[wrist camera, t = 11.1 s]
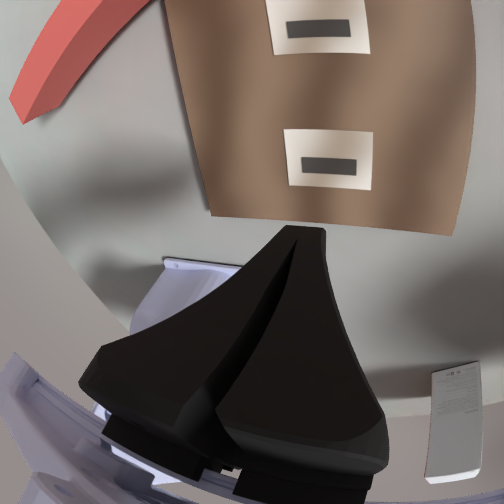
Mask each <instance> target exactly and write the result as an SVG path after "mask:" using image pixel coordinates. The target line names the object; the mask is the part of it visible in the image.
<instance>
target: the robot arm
mask: <svg viewBox="0 0 504 504" xmlns="http://www.w3.org/2000/svg"><path fill="white" fill-rule="evenodd" d="M164 265H165V270H164V271H163V272H162V274H161V275H160V277H159V278H158V279H157V281H156V282H155V283H154V285H153V286H152V288H151V289H150V290H149V292H148V293H147V295H146V296H145V297H144V299H143V300H142V302H141V303H140V304H139V306H138V307H137V309H136V311H135V313H134V315H133V318H132V321H131V325H130V336H127V337H125V338H122V339H119V340H117V341H114V342H112V343H109V344H106V345H103V346H101V348H100V349H99V350H98V352H97V353H96V355H95V356H94V358H93V360H92V361H91V363H90V364H89V366H88V367H87V369H86V370H85V372H84V373H83V375H82V377H81V378H80V380H79V381H78V383H79V386H80V388H81V389H82V390H83V391H84V392H85V393H86V394H87V395H88V396H90V397H91V398H92V399H93V400H95V403H94V405H93V407H92V409H91V411H89V410H87V409H85V408H84V407H83V406H81V405H80V404H78V403H77V402H75V401H73V400H72V399H71V398H69V397H68V396H67V395H65V394H64V393H62V392H61V391H60V390H58V389H57V388H56V387H54V386H53V385H52V384H50V383H49V382H48V381H46V380H45V379H44V378H43V377H41V376H40V375H39V373H38V372H37V371H35V370H34V369H33V368H32V367H31V366H30V365H29V364H28V363H27V362H26V361H25V360H23V359H22V358H21V357H20V356H19V355H18V354H17V353H13V354H12V356H11V357H10V359H9V360H8V362H7V363H6V365H5V366H4V368H3V369H2V371H1V372H0V414H1V416H2V418H3V420H4V421H5V424H6V425H7V428H8V430H9V432H10V434H11V436H12V438H13V439H14V441H15V443H16V445H17V447H18V449H19V451H20V452H21V454H22V456H23V457H24V459H25V461H26V463H27V464H28V466H29V467H30V469H31V471H32V472H33V474H32V476H31V478H30V480H29V482H28V484H27V486H26V488H25V490H24V492H23V494H22V496H21V499H20V501H19V503H18V504H198V503H196V502H193V501H190V500H187V499H185V498H182V497H180V496H178V495H175V494H173V493H170V492H168V491H166V490H164V489H162V488H159V487H157V486H155V485H156V484H163V483H173V482H184V483H187V484H190V485H192V486H194V487H197V488H199V489H202V490H205V491H207V492H210V493H213V494H216V495H219V496H221V497H225V498H228V499H231V500H234V501H237V502H240V503H244V504H504V488H503V489H500V490H495V491H491V492H487V493H481V494H477V495H471V496H465V497H458V498H451V499H442V500H432V501H418V502H365V498H366V495H367V491H368V490H370V488H371V485H372V480H373V476H374V474H376V473H378V472H380V471H381V470H383V469H384V468H385V467H386V466H387V465H388V461H389V438H388V430H387V425H386V419H385V414H384V412H383V410H382V408H381V406H380V405H379V403H378V401H377V399H376V397H375V395H374V393H373V391H372V389H371V387H370V385H369V383H368V381H367V379H366V377H365V375H364V373H363V370H362V368H361V366H360V364H359V362H358V359H357V357H356V354H355V352H354V350H353V347H352V345H351V343H350V340H349V338H348V335H347V333H346V330H345V327H344V324H343V322H342V319H341V316H340V313H339V310H338V307H337V304H336V300H335V297H334V293H333V289H332V286H331V281H330V277H329V272H328V267H327V262H326V231H325V230H324V229H323V228H319V227H306V226H293V225H286V226H284V227H283V228H282V229H281V230H280V231H279V232H278V233H277V234H276V235H275V236H274V237H273V238H272V239H271V240H270V241H269V242H268V243H267V244H266V245H265V246H264V247H263V248H262V249H261V250H260V251H259V252H258V253H257V254H256V255H255V256H254V257H253V258H252V259H251V260H250V261H249V262H247V263H246V264H245V265H244V266H243V267H237V266H228V265H220V264H212V263H204V262H196V261H188V260H180V259H172V258H166V259H165V260H164ZM234 468H235V469H238V470H239V469H242V471H241V473H240V476H239V478H238V479H236V478H233V477H229V476H226V475H223V474H220V473H221V471H222V469H224V470H227V471H231V472H232V471H233V469H234Z"/></svg>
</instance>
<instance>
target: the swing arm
mask: <svg viewBox="0 0 504 504" xmlns="http://www.w3.org/2000/svg"><path fill="white" fill-rule="evenodd" d="M149 1H150V0H61V2H60V3H59V5H58V6H57V8H56V9H55V11H54V12H53V14H52V15H51V17H50V18H49V20H48V21H47V23H46V25H45V26H44V28H43V30H42V31H41V33H40V35H39V37H38V38H37V40H36V42H35V44H34V46H33V47H32V49H31V51H30V53H29V55H28V57H27V59H26V61H25V63H24V65H23V67H22V69H21V72H20V74H19V76H18V78H17V80H16V83H15V85H14V87H13V90H12V92H11V95H10V97H9V99H10V101H11V103H12V105H13V107H14V109H15V111H16V113H17V115H18V117H19V119H20V120H21V122H22V124H25V123H27V122H29V121H31V120H33V119H34V118H36V117H38V116H40V115H42V114H44V113H46V112H48V111H51V110H53V109H55V108H57V107H59V106H60V104H61V103H62V101H63V100H64V98H65V97H66V95H67V94H68V93H69V91H70V90H71V88H72V87H73V85H74V84H75V83H76V81H77V80H78V79H79V77H80V76H81V75H82V73H83V72H84V71H85V69H86V68H87V67H88V66H89V64H90V63H91V62H92V61H93V59H94V58H95V57H96V56H97V55H98V53H99V52H100V51H101V50H102V49H103V48H104V46H105V45H106V44H107V43H108V42H109V41H110V40H111V39H112V37H113V36H114V35H115V34H116V33H117V32H118V31H119V30H120V29H121V28H122V27H123V26H124V25H125V24H126V23H127V22H128V21H129V20H130V19H131V18H132V17H133V16H134V15H135V14H136V13H137V12H138V11H139V10H140V9H141V8H142V7H143V6H144V5H145V4H146V3H148V2H149Z"/></svg>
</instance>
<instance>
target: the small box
mask: <svg viewBox="0 0 504 504" xmlns="http://www.w3.org/2000/svg"><path fill="white" fill-rule="evenodd" d="M482 443H483V405H482V385H481V371H480V362H479V361H478V362H474V363H470V364H466V365H462V366H458V367H454V368H450V369H446V370H442V371H438V372H434V373H432V396H431V422H430V434H429V445H428V454H427V461H426V468H425V474H424V478H425V479H426V480H427V481H428V483H429V484H433V483H442V482H450V481H456V480H462V479H468V478H473V477H475V476H476V475H477V474H478V473H479V470H480V469H481V460H482V445H483V444H482Z"/></svg>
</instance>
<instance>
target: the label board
mask: <svg viewBox="0 0 504 504" xmlns="http://www.w3.org/2000/svg"><path fill="white" fill-rule="evenodd" d="M165 6H166V12H167V17H168V22H169V28H170V33H171V38H172V43H173V48H174V53H175V58H176V63H177V68H178V73H179V78H180V82H181V87H182V92H183V96H184V101H185V106H186V110H187V115H188V119H189V124H190V128H191V133H192V137H193V141H194V146H195V150H196V154H197V158H198V163H199V167H200V171H201V175H202V179H203V183H204V188H205V192H206V196H207V200H208V204H209V208H210V212H211V216H217V217H237V218H255V219H271V220H286V221H300V222H314V223H327V224H339V225H351V226H362V227H373V228H383V229H393V230H403V231H412V232H421V233H430V234H439V235H447V236H452V234H453V230H454V227H455V223H456V219H457V215H458V211H459V207H460V203H461V199H462V194H463V189H464V184H465V179H466V174H467V168H468V163H469V156H470V149H471V142H472V134H473V124H474V112H475V95H476V51H475V35H474V24H473V15H472V7H471V0H165Z"/></svg>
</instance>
